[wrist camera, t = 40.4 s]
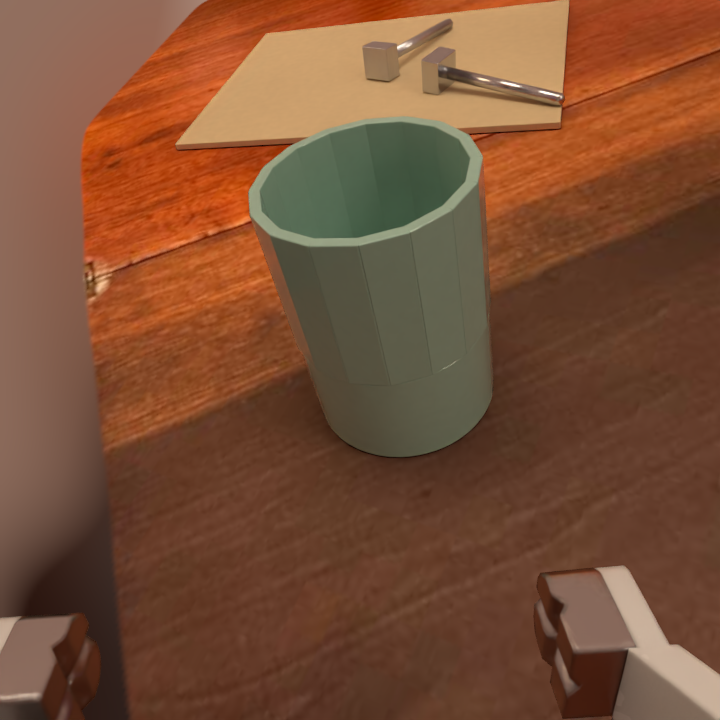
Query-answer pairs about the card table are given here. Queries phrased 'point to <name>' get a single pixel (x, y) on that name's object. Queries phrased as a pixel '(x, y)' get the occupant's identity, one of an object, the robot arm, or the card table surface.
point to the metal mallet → (476, 79)
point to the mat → (389, 98)
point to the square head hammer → (396, 52)
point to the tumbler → (384, 277)
